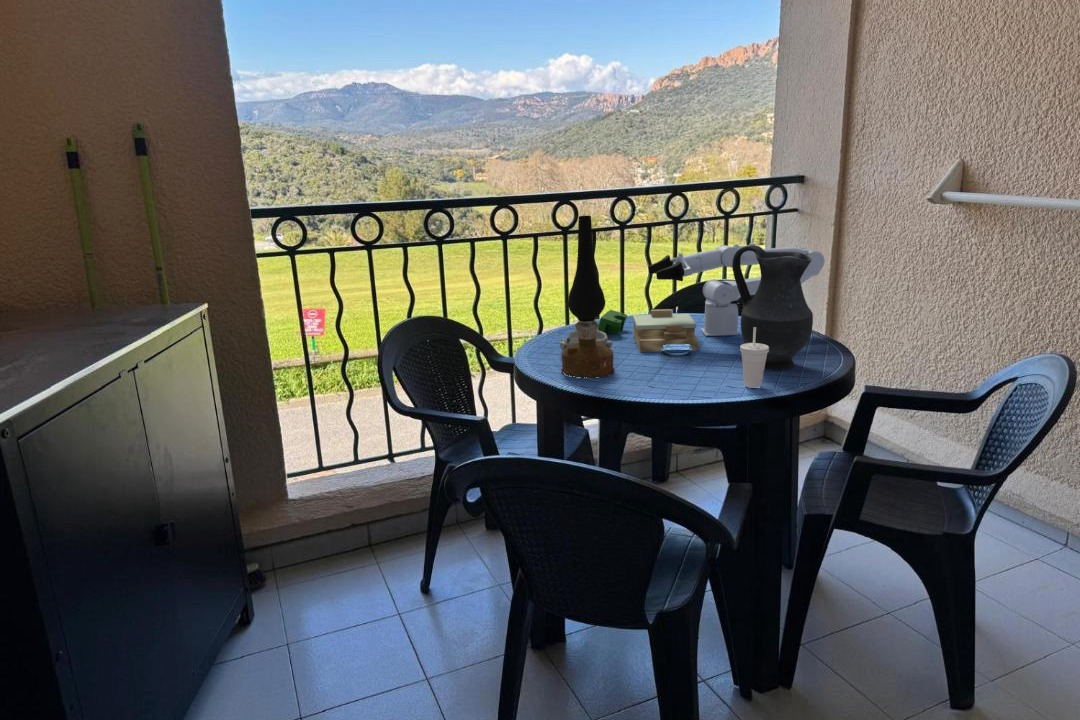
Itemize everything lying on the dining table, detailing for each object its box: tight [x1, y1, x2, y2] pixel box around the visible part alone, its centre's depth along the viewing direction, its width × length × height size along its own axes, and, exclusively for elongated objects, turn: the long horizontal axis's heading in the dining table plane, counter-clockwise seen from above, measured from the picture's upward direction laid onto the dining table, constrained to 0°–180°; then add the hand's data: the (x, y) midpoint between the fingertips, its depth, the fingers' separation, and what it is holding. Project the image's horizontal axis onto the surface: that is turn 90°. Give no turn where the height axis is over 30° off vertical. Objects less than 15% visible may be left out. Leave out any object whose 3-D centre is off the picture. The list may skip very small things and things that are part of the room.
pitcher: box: [731, 244, 814, 371], centre depth 169 cm, size 17×21×30 cm
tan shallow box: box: [633, 322, 699, 353], centre depth 195 cm, size 16×17×5 cm
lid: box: [632, 308, 697, 332], centre depth 196 cm, size 17×14×5 cm
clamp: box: [597, 309, 628, 335], centre depth 210 cm, size 12×6×9 cm, turn 153°
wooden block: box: [664, 331, 687, 339], centre depth 188 cm, size 6×2×1 cm, turn 88°
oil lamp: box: [560, 215, 615, 378], centre depth 170 cm, size 14×15×40 cm
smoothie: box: [739, 327, 769, 387], centre depth 156 cm, size 6×6×14 cm
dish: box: [559, 329, 613, 353], centre depth 190 cm, size 14×14×5 cm
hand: (652, 272), depth 196 cm, fingers open, 7 cm apart
